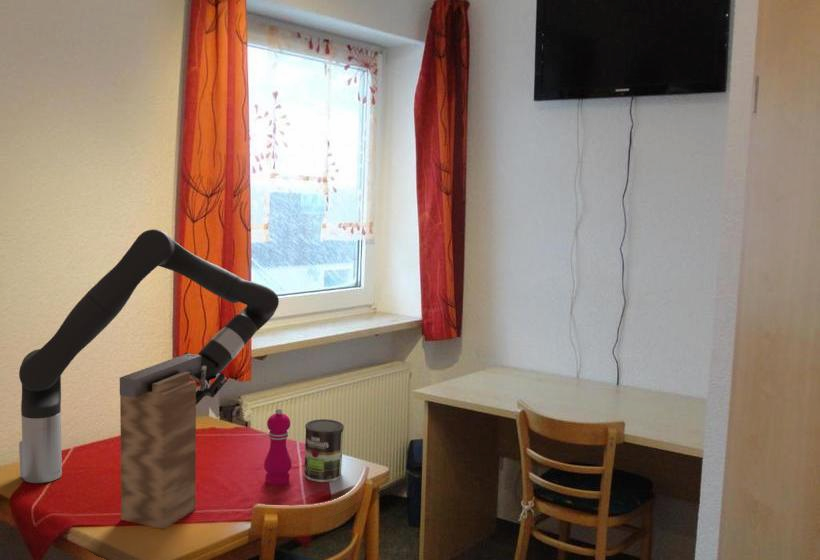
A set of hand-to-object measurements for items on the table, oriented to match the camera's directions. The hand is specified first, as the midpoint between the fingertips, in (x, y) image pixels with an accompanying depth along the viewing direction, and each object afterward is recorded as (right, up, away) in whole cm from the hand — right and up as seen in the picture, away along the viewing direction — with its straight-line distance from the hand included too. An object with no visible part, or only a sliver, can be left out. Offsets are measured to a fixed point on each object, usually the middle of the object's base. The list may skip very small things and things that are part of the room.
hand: (178, 396), depth 202 cm
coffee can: (+33, -25, +22) cm, 47 cm away
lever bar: (-1, +5, -10) cm, 11 cm away
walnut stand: (-3, -27, -6) cm, 28 cm away
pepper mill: (+22, -25, +17) cm, 37 cm away
